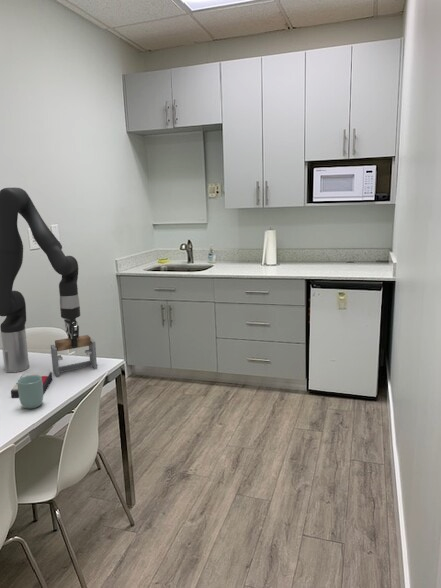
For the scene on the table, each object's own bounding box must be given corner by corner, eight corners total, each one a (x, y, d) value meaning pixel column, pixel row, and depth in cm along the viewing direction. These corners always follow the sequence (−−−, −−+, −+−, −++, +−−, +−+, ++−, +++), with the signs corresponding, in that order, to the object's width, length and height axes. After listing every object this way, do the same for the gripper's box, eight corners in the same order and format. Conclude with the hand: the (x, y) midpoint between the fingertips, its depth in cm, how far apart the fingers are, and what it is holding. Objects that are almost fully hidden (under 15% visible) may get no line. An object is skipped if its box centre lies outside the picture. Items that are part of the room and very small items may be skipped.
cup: (48, 401, 156) (46, 375, 154) (37, 411, 148) (34, 384, 146) (27, 400, 157) (24, 374, 154) (15, 410, 149) (12, 383, 147)
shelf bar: (57, 351, 176) (56, 343, 175) (55, 348, 179) (54, 340, 178) (90, 345, 183) (90, 337, 182) (88, 342, 186) (87, 334, 185)
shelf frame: (56, 377, 176) (53, 349, 174) (53, 372, 181) (50, 345, 179) (97, 368, 185) (95, 341, 183) (92, 364, 190) (90, 338, 187)
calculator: (10, 389, 158) (22, 371, 172) (11, 400, 159) (24, 381, 173) (41, 387, 159) (51, 370, 173) (42, 398, 160) (52, 380, 175)
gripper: (56, 303, 181) (59, 342, 185) (64, 310, 169) (68, 352, 173) (74, 301, 185) (77, 339, 189) (84, 307, 173) (87, 348, 177)
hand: (73, 345), depth 181 cm, fingers closed on shelf bar, 4 cm apart
